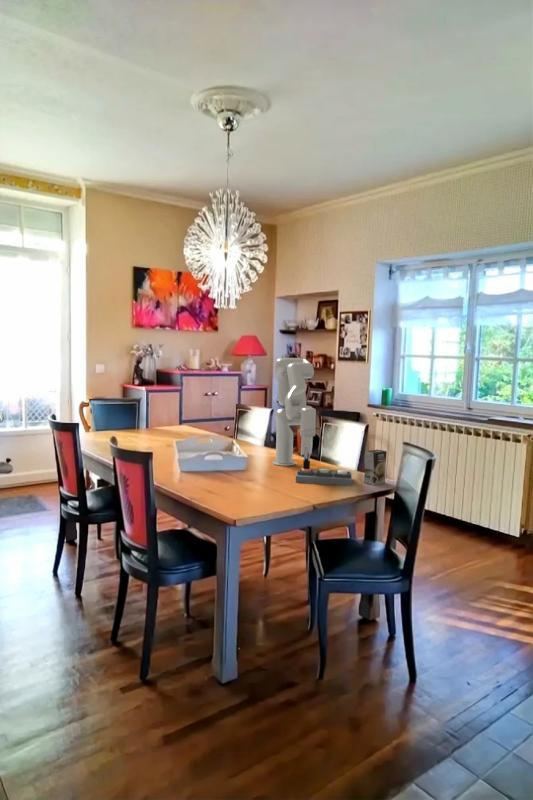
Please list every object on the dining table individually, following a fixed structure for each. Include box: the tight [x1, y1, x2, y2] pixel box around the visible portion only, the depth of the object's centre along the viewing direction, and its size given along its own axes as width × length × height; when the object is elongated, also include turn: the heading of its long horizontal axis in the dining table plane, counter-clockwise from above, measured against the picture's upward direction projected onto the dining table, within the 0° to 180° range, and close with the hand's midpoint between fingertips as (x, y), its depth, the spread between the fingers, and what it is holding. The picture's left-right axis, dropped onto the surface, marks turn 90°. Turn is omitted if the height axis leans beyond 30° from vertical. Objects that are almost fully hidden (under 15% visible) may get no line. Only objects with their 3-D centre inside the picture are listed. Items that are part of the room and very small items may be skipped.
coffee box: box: [363, 449, 387, 486], centre depth 263 cm, size 9×6×16 cm
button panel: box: [295, 468, 353, 486], centre depth 265 cm, size 14×27×4 cm, turn 81°
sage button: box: [318, 468, 330, 473], centre depth 265 cm, size 5×5×2 cm
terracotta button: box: [300, 467, 312, 472], centre depth 266 cm, size 5×5×2 cm
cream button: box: [336, 469, 348, 475], centre depth 264 cm, size 5×5×2 cm
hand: (306, 468), depth 266 cm, fingers closed
